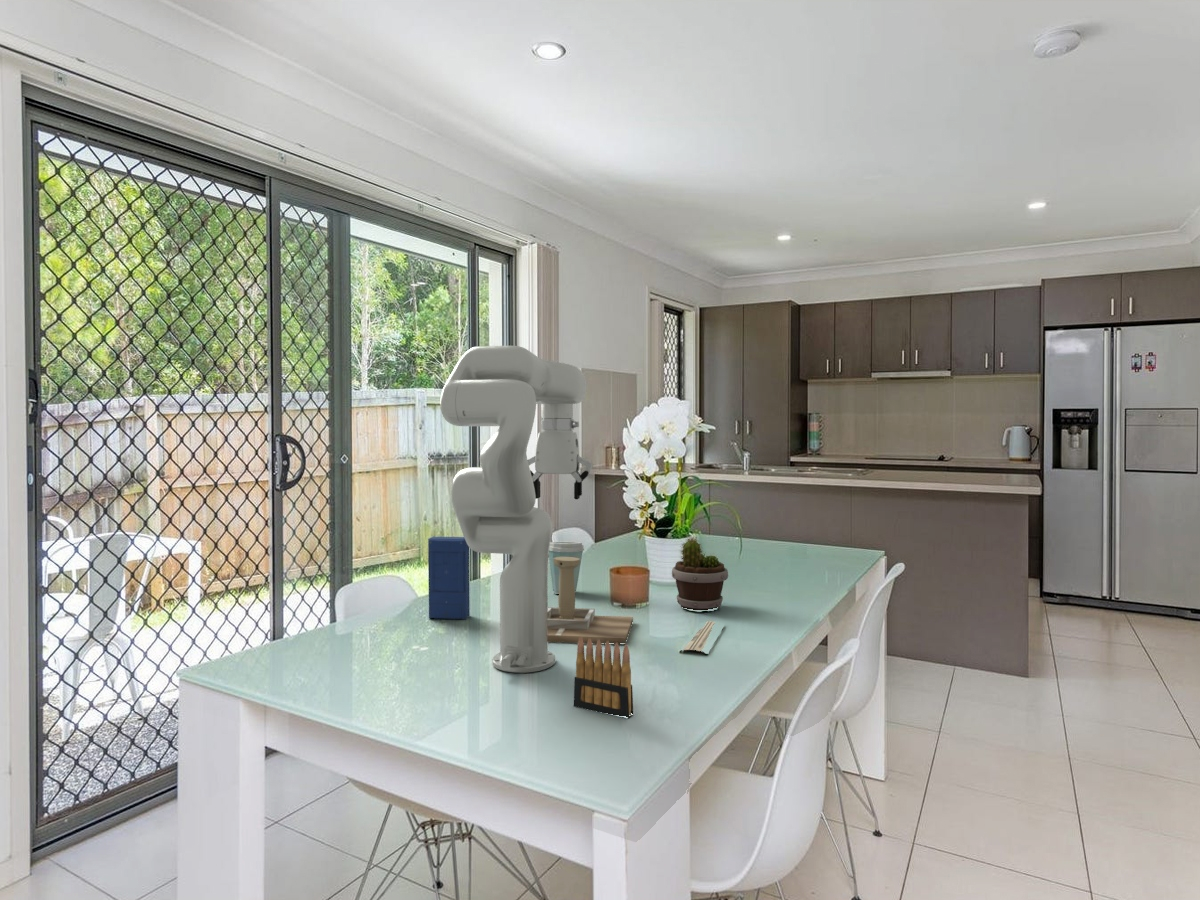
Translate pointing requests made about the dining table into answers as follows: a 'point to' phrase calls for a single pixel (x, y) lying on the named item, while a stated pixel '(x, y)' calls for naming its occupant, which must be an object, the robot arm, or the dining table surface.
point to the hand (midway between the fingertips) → (557, 498)
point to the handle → (566, 585)
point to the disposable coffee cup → (564, 551)
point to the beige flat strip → (700, 637)
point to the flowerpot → (698, 578)
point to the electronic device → (448, 578)
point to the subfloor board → (587, 627)
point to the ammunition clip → (603, 680)
